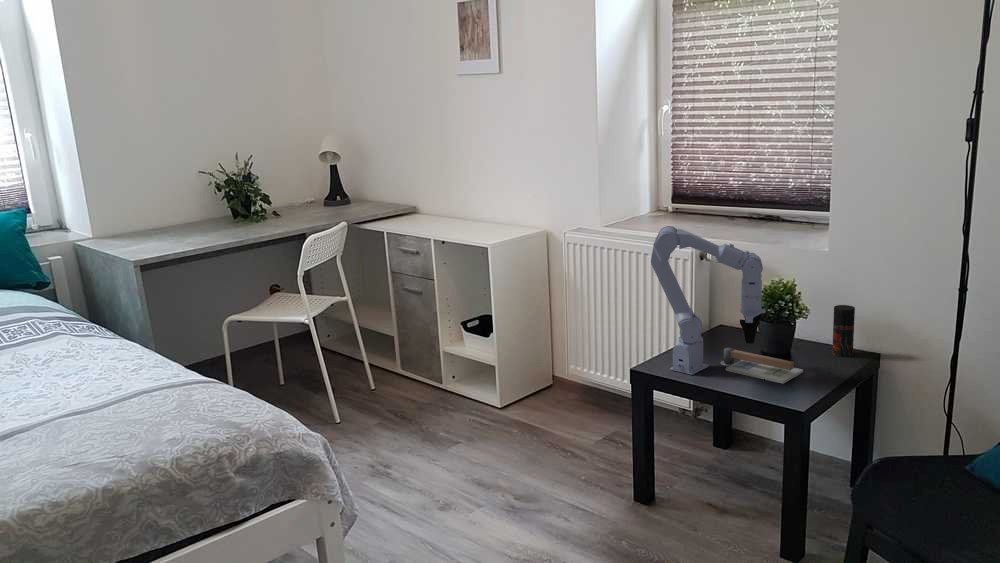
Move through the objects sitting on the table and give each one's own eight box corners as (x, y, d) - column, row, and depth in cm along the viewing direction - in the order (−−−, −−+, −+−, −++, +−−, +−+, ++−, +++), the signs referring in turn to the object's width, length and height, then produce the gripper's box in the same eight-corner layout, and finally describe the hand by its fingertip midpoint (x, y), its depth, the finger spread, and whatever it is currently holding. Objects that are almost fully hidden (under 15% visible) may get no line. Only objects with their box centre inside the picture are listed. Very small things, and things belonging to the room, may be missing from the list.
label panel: (783, 383, 233) (783, 380, 233) (711, 367, 250) (711, 364, 250) (803, 372, 241) (803, 369, 241) (731, 356, 258) (731, 353, 258)
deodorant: (854, 357, 251) (856, 310, 247) (834, 356, 252) (835, 310, 249) (850, 350, 257) (852, 304, 253) (830, 350, 258) (832, 304, 254)
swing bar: (721, 362, 252) (721, 349, 251) (727, 359, 254) (727, 347, 253) (789, 377, 236) (789, 363, 235) (794, 374, 238) (794, 361, 237)
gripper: (763, 302, 232) (763, 347, 236) (767, 289, 245) (766, 332, 249) (738, 301, 235) (737, 346, 238) (743, 288, 248) (742, 331, 251)
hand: (751, 339), depth 244 cm, fingers open, 7 cm apart
